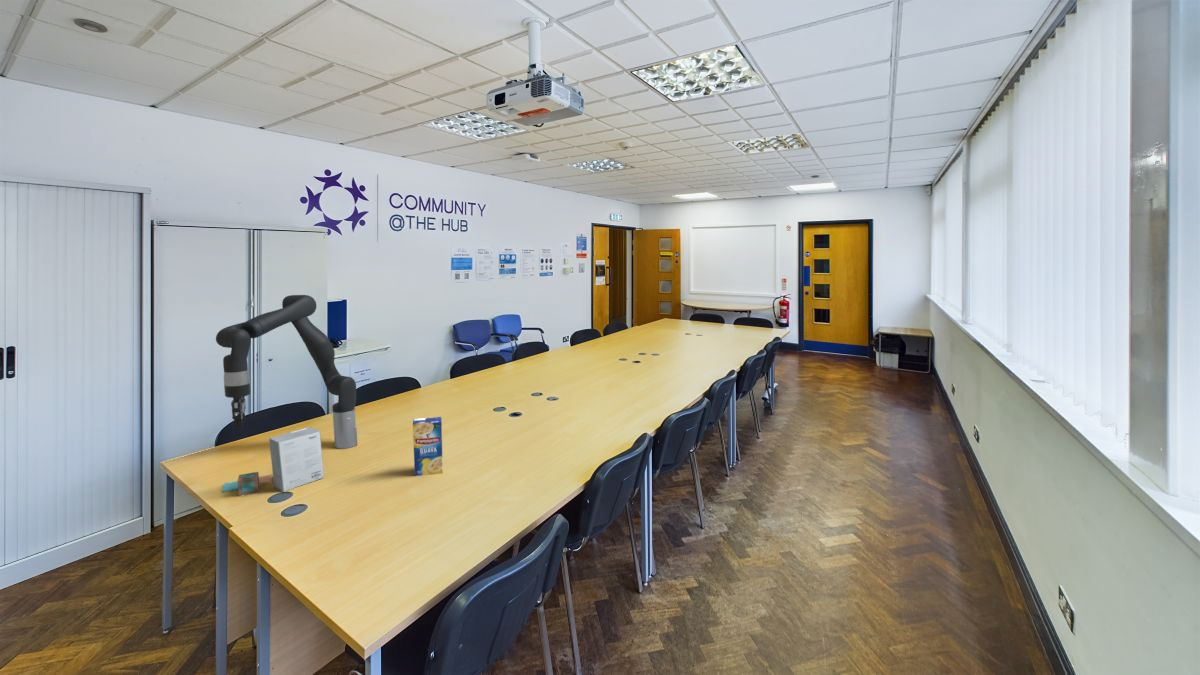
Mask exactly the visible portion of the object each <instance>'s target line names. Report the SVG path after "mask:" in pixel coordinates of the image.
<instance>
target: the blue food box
mask: <svg viewBox="0 0 1200 675" xmlns="http://www.w3.org/2000/svg"><path fill="white" fill-rule="evenodd" d="M442 423H443V422H442V416H436V417H435V416H434V417H420V418H413V420H412V438H413V442H412V443H413V461H414V462H413V463H414V477H418V476H419V477H420V476H428V475H436V474H437V475H439V474H444V472H443V471H444V469H443V468H444V463H443V462H444V460H443V433H442V430H443V428H442V426H443V424H442Z"/></svg>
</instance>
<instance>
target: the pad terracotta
mask: <svg viewBox="0 0 1200 675" xmlns="http://www.w3.org/2000/svg"><path fill="white" fill-rule="evenodd" d="M271 483H272V474H266V475H262V476H260V475H259V484H261V485H265V484H271Z"/></svg>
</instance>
